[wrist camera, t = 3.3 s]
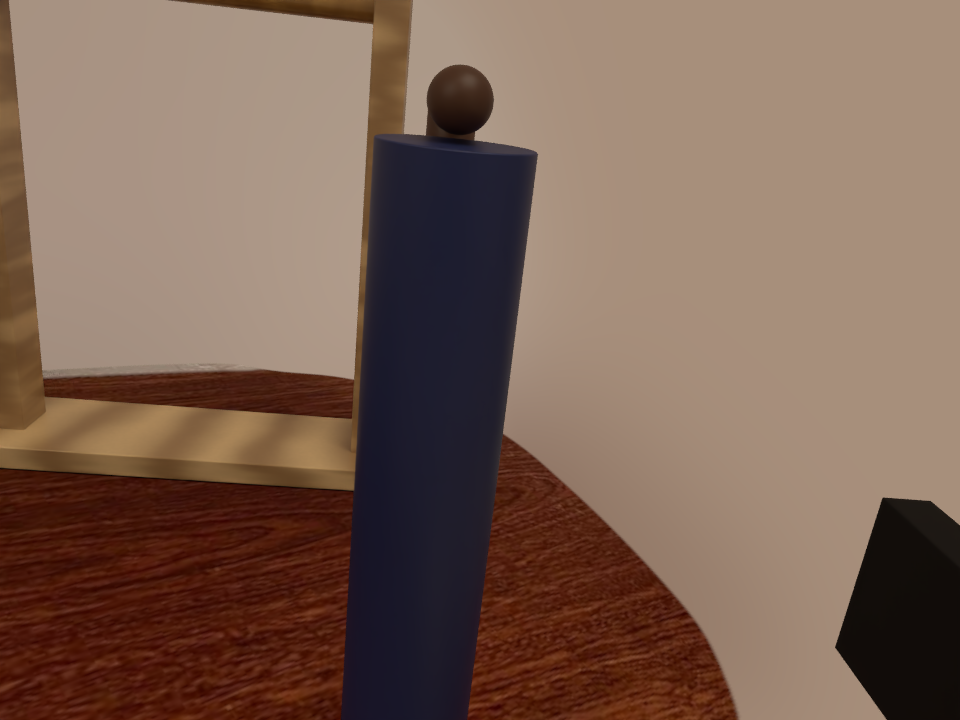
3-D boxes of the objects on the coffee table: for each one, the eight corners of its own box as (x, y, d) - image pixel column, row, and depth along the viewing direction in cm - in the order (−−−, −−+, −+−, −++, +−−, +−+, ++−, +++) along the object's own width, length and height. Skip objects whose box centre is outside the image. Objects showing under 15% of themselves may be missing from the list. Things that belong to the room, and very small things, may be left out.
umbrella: (456, 922, 25) (570, 73, 16) (318, 920, 24) (361, 50, 16) (450, 692, 34) (521, 77, 26) (351, 688, 34) (389, 63, 25)
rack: (383, 439, 57) (415, -17, 47) (376, 492, 50) (411, -36, 40) (35, 414, 55) (-11, -68, 45) (-28, 466, 48) (-100, -99, 38)
